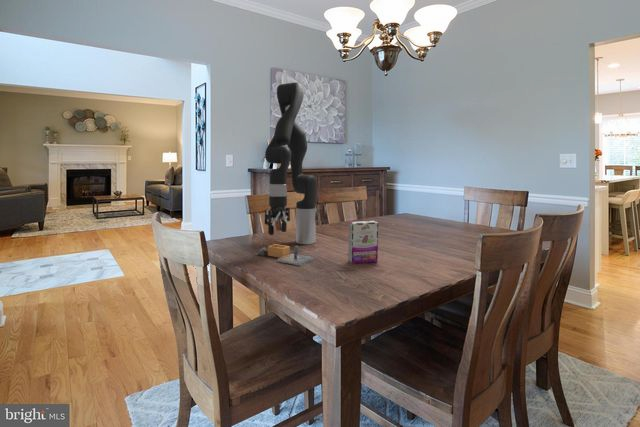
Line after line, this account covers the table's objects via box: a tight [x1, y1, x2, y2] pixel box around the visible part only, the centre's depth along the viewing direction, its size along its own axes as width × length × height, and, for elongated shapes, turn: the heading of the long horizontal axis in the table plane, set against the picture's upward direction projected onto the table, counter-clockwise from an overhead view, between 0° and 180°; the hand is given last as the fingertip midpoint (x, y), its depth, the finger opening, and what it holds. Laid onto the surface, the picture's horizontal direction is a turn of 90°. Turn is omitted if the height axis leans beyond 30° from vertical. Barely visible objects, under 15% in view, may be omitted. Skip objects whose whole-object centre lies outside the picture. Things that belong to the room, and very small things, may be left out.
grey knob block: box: [257, 247, 268, 257], centre depth 160 cm, size 4×3×3 cm
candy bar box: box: [347, 220, 379, 265], centre depth 149 cm, size 11×5×16 cm, turn 105°
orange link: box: [267, 243, 291, 258], centre depth 158 cm, size 5×8×4 cm, turn 59°
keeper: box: [277, 245, 315, 267], centre depth 150 cm, size 10×11×6 cm
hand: (277, 233), depth 157 cm, fingers open, 8 cm apart
